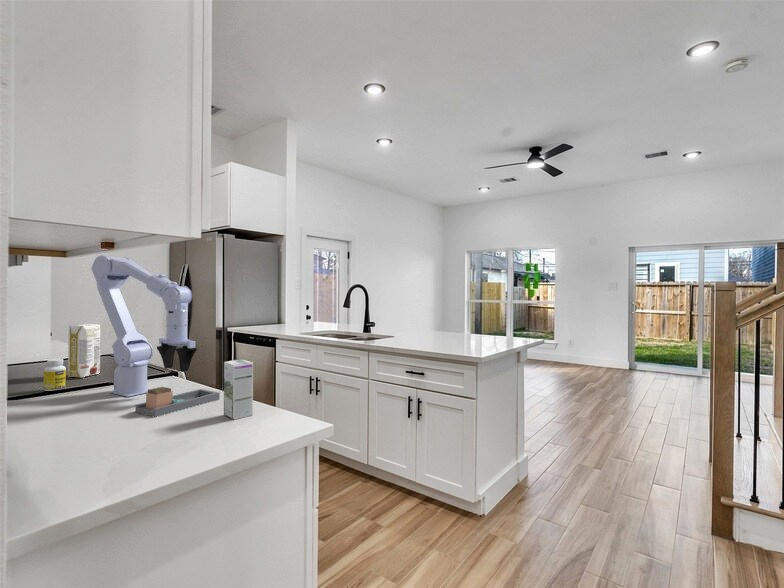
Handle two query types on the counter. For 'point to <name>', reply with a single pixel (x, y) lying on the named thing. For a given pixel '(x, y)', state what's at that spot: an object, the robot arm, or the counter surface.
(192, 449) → the counter surface
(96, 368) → the juice carton
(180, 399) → the pusher
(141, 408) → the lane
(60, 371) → the supplement bottle
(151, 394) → the tan cardboard cube box
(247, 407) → the syrup box
